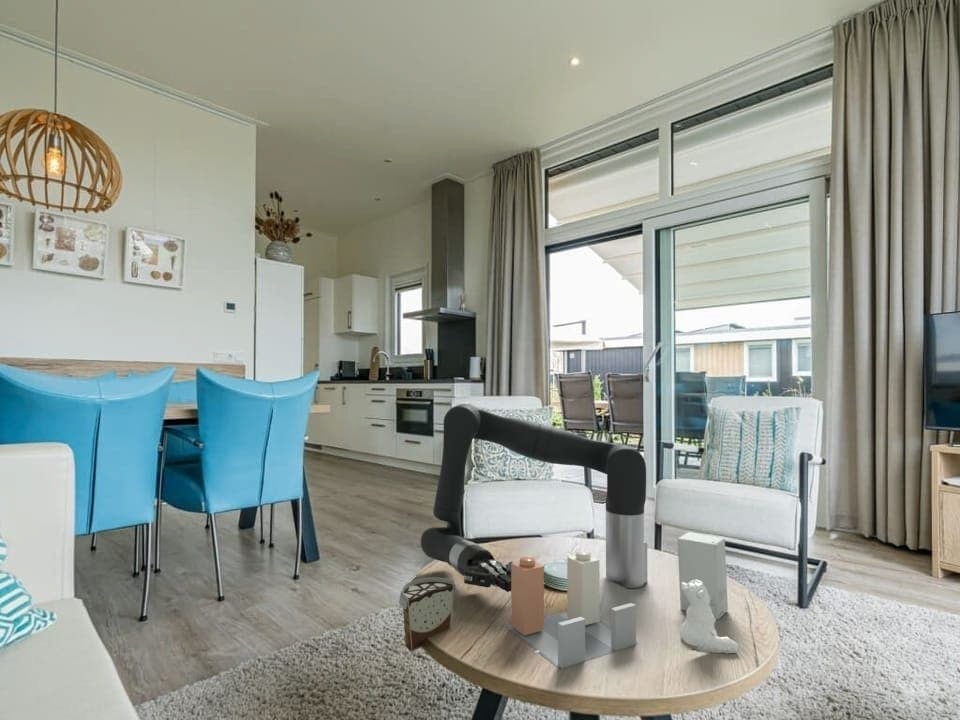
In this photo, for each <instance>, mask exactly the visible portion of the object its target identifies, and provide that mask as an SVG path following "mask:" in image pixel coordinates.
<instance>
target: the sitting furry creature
mask: <svg viewBox="0 0 960 720" xmlns="http://www.w3.org/2000/svg"><path fill="white" fill-rule="evenodd" d="M682 590H683V591H684V595H686V596H687V599H688V600H689V602H690V603H691V605H690V607H688V610H687V611H686V612H685V613H686V616H685V620H683V624H682V625H681V629H680V631H679V635H680V638H681V640H682V641H683V642H684V643H685V644H686V645H689V646H693V647H694V648H692V651H696V652H698V653H711V652H712V654H713V653H714V652H715V653H716V654H728V653H734V654H736V653H738V652H739V644H738V643H737V642H736V641H735V640H733V639H731V638H730V637H729V636H726V635H725V636H718V634H717V633H718V632H717V630H716V628H715V623H716V622H717V619H715V618H714V616H713V613H712V610H711V608H710V605H709V603H710V596H709V595H708V591H707V589H706V588H705V587H704V586H703V582H702V581H700V580H692V581H690V582H689V583H688V584H687V583H684V582H682ZM715 653H714V654H715Z"/></svg>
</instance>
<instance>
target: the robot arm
mask: <svg viewBox="0 0 960 720" xmlns="http://www.w3.org/2000/svg"><path fill="white" fill-rule="evenodd" d="M473 439H474V440H478V441H479V440H481V441H486V442H490V443H493V444H497V445H498V446H499V445H500V446H501V447H503V448H506V449H508V450H510V451H511V452H514V453H516V454H518V455H521V456H524V457H526V458H528V459H532V460H537V461H540V462H544V463H549V464H552V465H553V464H555V465H564V466H565V465H566V466H578V467H583V468H588V469H591V470H594V471H597V472H599V473H602V474H605V475H606V498H605V579H606V580H608V581H610V582H612V583H614V584H616V585H618V586H620V587H623V588H625V589H637V588H641V587H643V586H644V585H645V584H646V583H648V543H647V541H645V504H646V501H647V500H646V499H647V465H646V461H645V458H644V457H643V455H642V454H641V452H639V451H638V450H637V449H635V448H634V447H632V446H631V445H628V444H624V443H623V444H622V443H614V442H606V441H602V440H594V439H590V438H587V437H584V436H583V435H582V436H581V435H578V434H576V433H574V432H571V431H568V430H565V429H562V428H558V427H556V426H552V425H547V424H543V423H540V422H535V421H530V420H525V419H520V418H514V417H513V418H512V417H506V416H503V415H499V414H495V413H493V412H491V411H487V410H484V409H482V408H479V407H477V406H474V405H472V404H467V403H461V404H456V405H455V406H452V407H451V408H450V409H449V410H448V411H447V412H446V413H445V415H444V416H443V439H442V440H443V443H442V444H443V447H442V459H441V467H440V471H439V477H438V482H437V488H436V493H435V498H434V505H433V512H432V513H433V516H434V517H435V519H437V520H440V521H442V522H446V523H447V525H446V527H434V526H433V527H429V528H427V529H425V530H424V531H423V533H422V534H421V536H420V547H421V549H422V552H423V553H424V555H426V556H427V557H429V558H431V559H432V560H433V559H434V560H436V561H440V562H444V563H447V564H448V565H449V566H451V568H454V570H455V571H456V572H457V573H458V574H460V575H461V576H463V579H464V580H463V584H465V585H471V586H477V587H482V588H490V587H491V586H493V587H495V588H499V589H501V590H503V591H505V592H506V593H509V592H511V563H514V561H509V562H508V563H506V564H503V563H502V562H501V561H498V560H496V559H495V557H494V555H493V554H492V553H491V552H490V550H488V549H485V548H484V547H482V546H480V545H479V544H476V542H473V541H470V540H469V539H466V538H465V537H463V536H462V535H463V534H462V526H461V511H462V504H463V498H464V491H465V481H466V466H467V460H468V455H469V451H470V448H471V444H472V441H473Z"/></svg>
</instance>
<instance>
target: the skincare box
mask: <svg viewBox="0 0 960 720" xmlns="http://www.w3.org/2000/svg"><path fill="white" fill-rule="evenodd" d="M677 552H678V554H677V556H678V557H677V558H678V581H679V603H680V604H679V605H680V610H682V611H687V610H688V607H690V605H691V603H690V602H689V600H688V599H687V596H686V595H684V591H683V590H682V582H684V583H687V584H688V583H689V582H690V581H692V580H700V581H702V582H703V586H704V587H705V588H706V589H707V591H708V595H709V596H710V603H709V605H710V608H711V610H712V613H713V616H714V618H715V619H716V621H719V620H720V619H721V618H722V617H723V615H725V614H726V613H727V612H728V610H729V605H728V585H727V584H728V583H727V563H726V562H727V561H726V559H727V558H726V539H725V537H718V536H714V535H709V534H708V535H707V534H700V533H695V532H690V531H688V532H686V533H685V534H682V536H679V537H678V538H677Z"/></svg>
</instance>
